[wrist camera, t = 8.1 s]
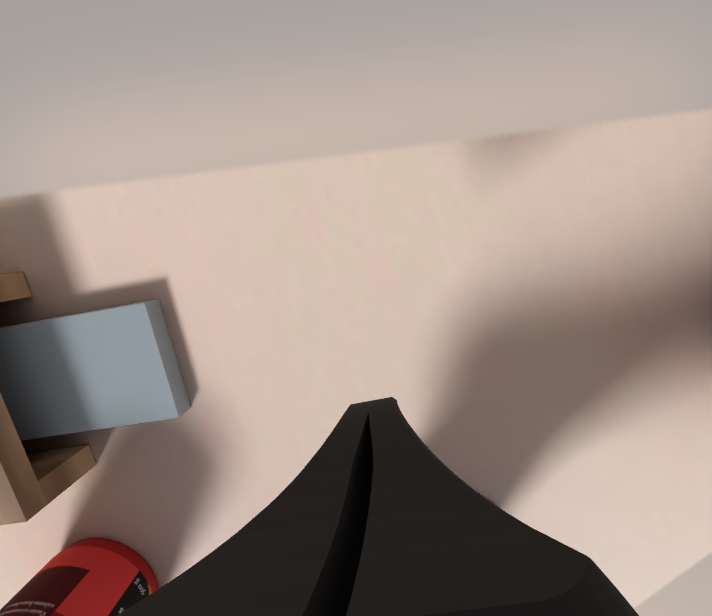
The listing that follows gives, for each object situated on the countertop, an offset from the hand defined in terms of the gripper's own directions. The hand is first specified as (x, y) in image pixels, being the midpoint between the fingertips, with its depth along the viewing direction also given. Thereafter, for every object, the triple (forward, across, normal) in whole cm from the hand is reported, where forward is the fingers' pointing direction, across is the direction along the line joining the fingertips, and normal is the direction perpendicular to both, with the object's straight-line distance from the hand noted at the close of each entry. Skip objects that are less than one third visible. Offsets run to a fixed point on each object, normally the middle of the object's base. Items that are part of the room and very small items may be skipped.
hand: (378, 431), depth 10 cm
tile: (+11, +19, -1) cm, 22 cm away
